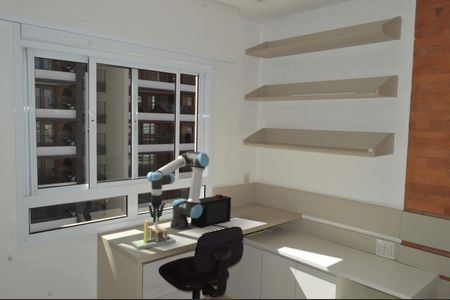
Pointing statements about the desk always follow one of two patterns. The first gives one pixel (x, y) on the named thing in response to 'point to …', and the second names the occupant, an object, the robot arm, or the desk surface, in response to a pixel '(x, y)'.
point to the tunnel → (157, 230)
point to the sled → (147, 233)
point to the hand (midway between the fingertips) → (155, 226)
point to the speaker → (213, 211)
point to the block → (158, 234)
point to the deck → (152, 243)
